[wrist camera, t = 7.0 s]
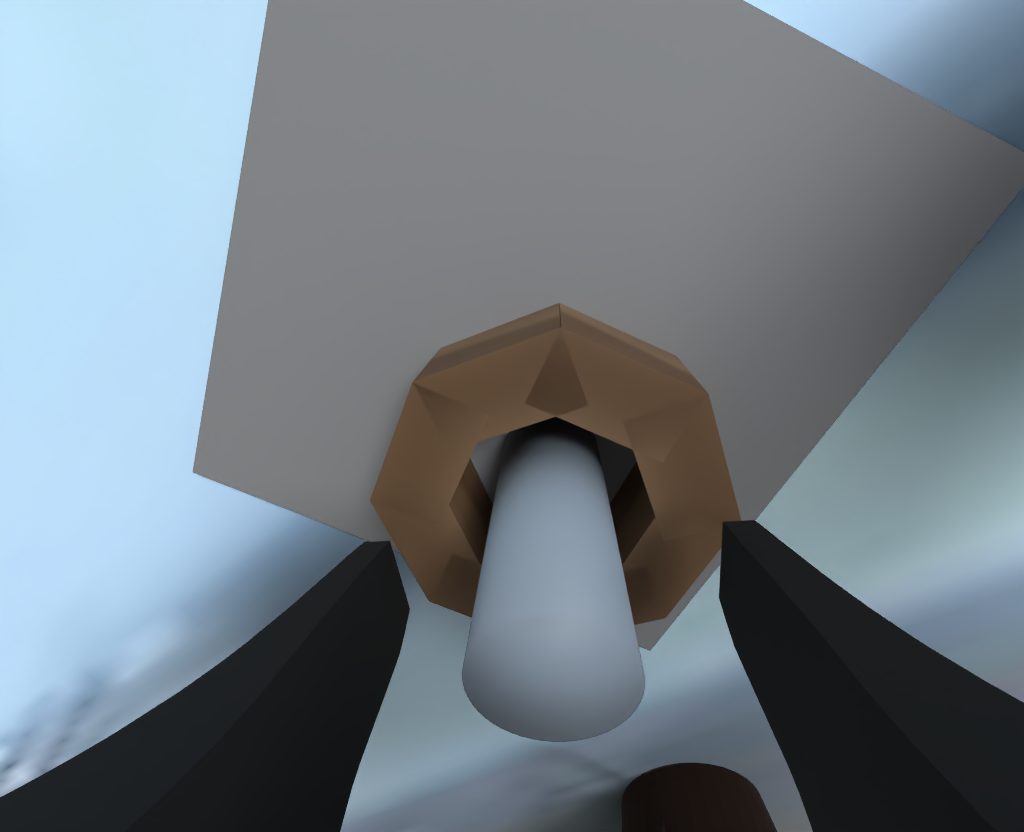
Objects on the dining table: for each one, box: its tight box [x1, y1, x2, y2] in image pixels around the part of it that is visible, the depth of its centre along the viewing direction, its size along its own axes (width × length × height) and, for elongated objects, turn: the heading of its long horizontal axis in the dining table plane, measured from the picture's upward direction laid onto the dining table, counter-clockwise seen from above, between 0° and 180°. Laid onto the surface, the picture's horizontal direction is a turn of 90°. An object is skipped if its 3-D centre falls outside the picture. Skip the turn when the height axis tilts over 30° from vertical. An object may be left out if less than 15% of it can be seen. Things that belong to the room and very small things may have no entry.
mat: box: [193, 0, 1024, 650], centre depth 14 cm, size 18×18×1 cm
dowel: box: [462, 417, 645, 742], centre depth 11 cm, size 3×3×8 cm
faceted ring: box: [370, 303, 741, 625], centre depth 14 cm, size 9×9×3 cm
